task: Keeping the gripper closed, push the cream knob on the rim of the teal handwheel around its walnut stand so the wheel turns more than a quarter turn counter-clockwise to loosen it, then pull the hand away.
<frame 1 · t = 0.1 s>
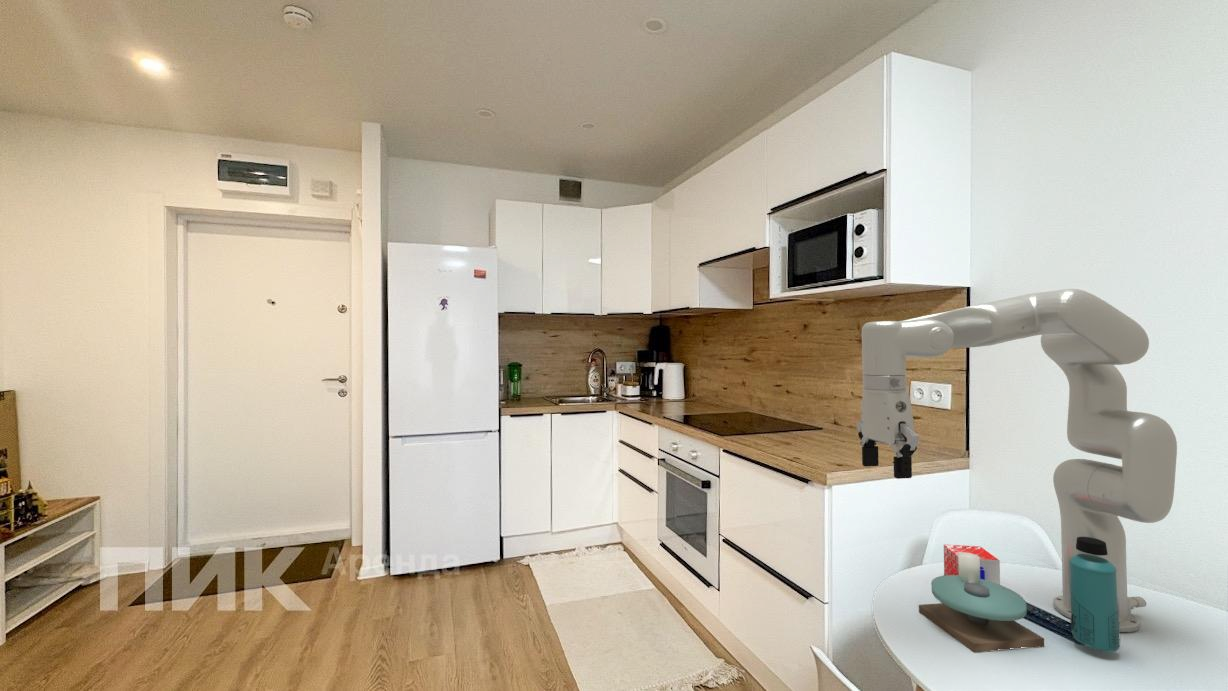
hand: (885, 471, 96), 31 cm above the table, tool pointing down, fingers open, 9 cm apart
handwheel: (976, 583, 97), point 9 cm above the table, hinge at 0.0°
stand: (977, 628, 97), on the table
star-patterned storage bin: (971, 587, 114), on the table
beverage bottle: (1094, 650, 89), on the table
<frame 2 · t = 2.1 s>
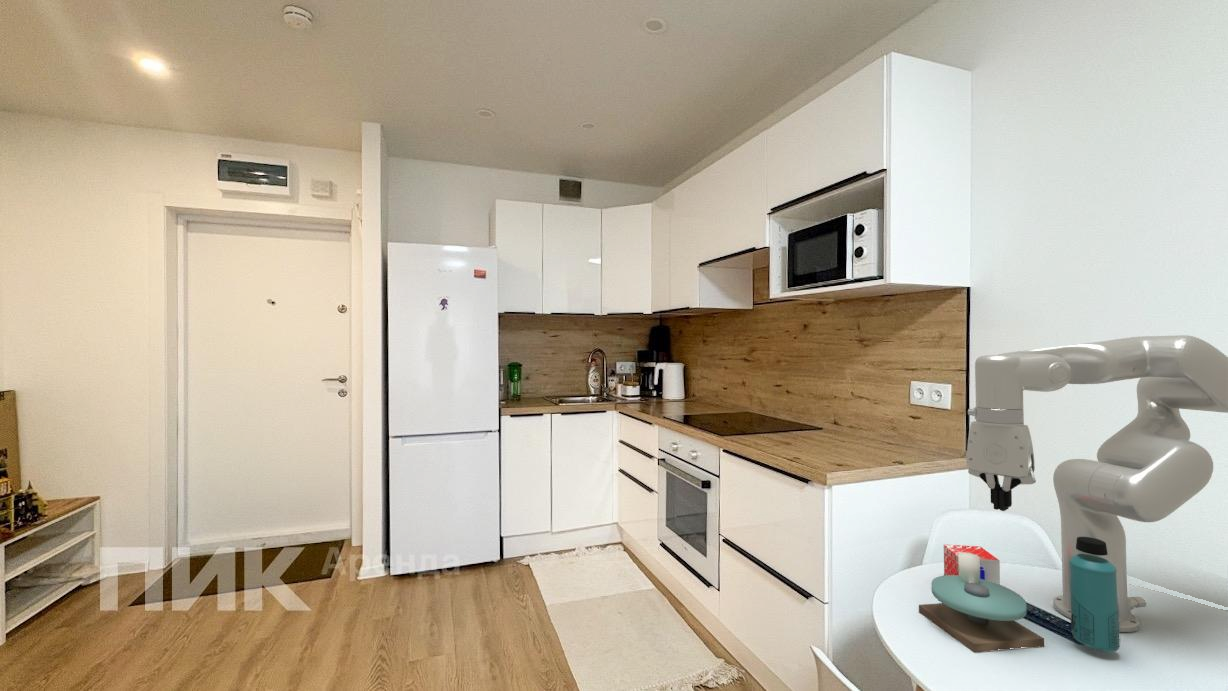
hand: (1001, 508, 98), 23 cm above the table, tool pointing down, fingers closed
nothing on the table moved.
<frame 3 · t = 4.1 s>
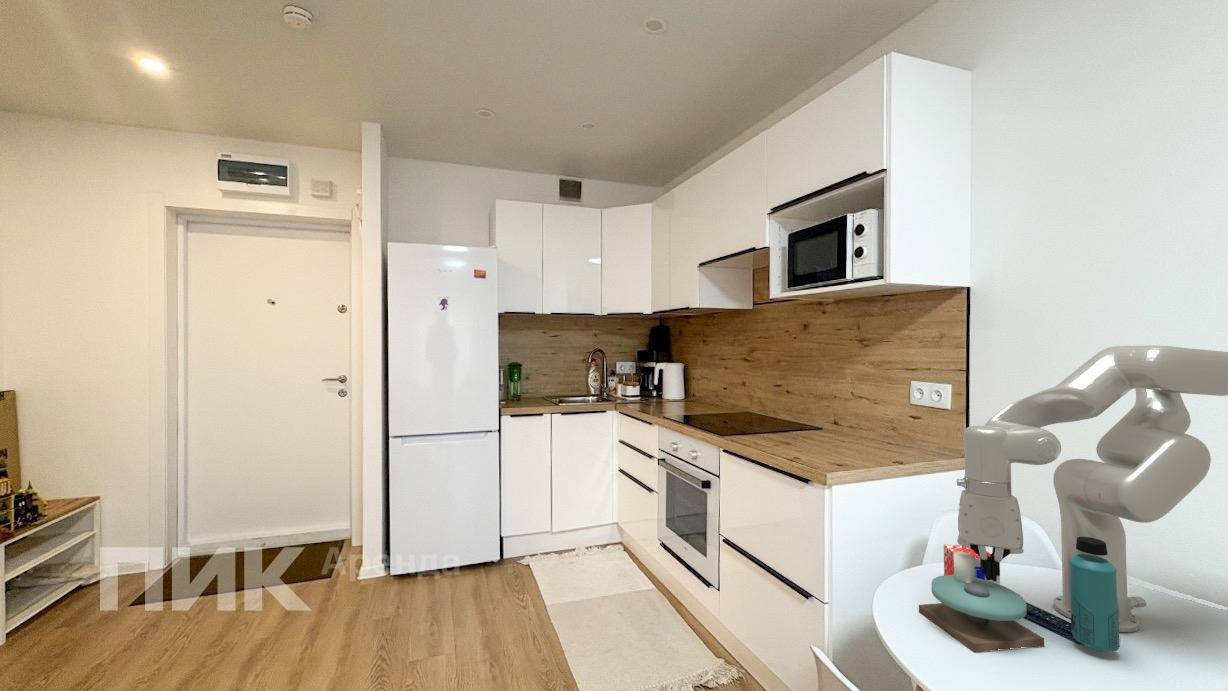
hand: (990, 577, 100), 8 cm above the table, tool pointing down, fingers closed
handwheel: (976, 583, 97), point 9 cm above the table, hinge at 8.5°, touching gripper
everything else where it was.
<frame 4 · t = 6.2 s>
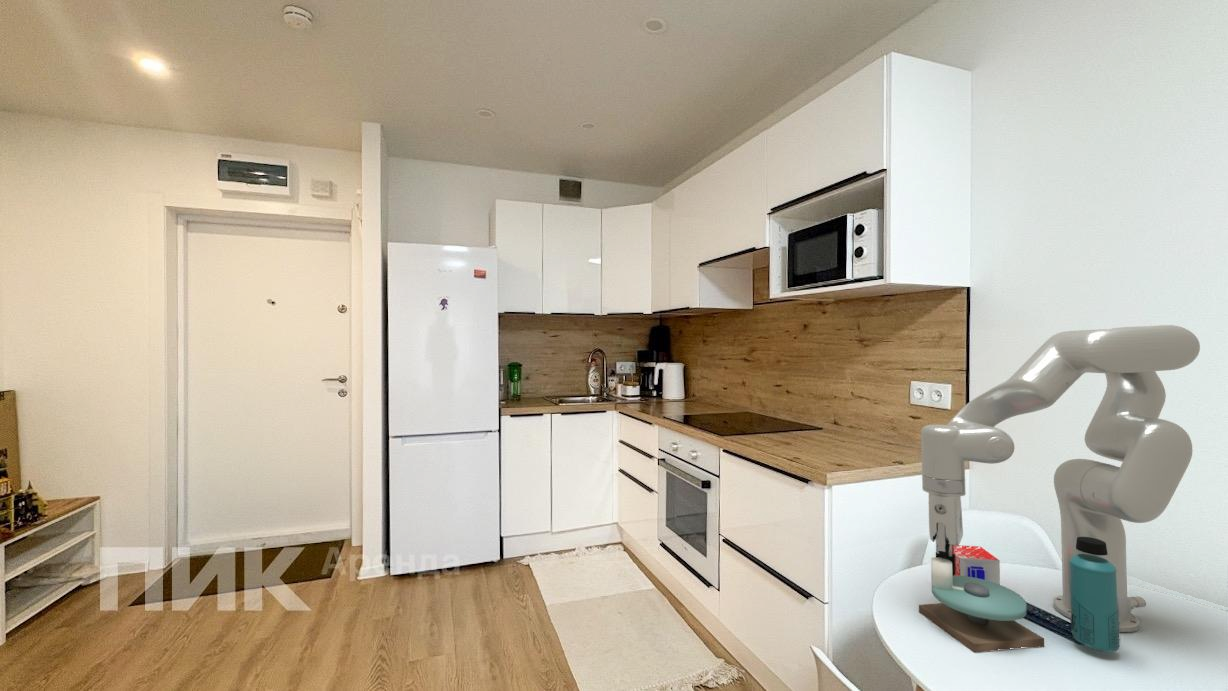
hand: (945, 572, 103), 8 cm above the table, tool pointing down, fingers closed
handwheel: (976, 583, 97), point 9 cm above the table, hinge at 84.2°, touching gripper
everything else where it was.
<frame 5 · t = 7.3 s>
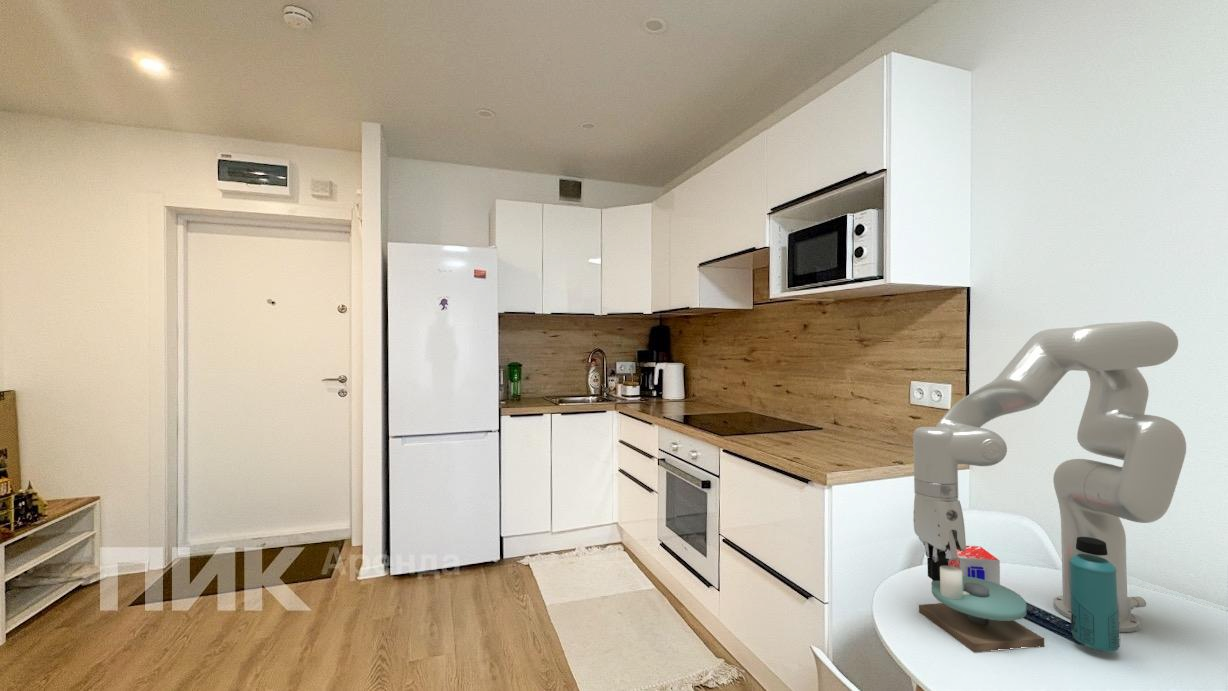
hand: (938, 578, 100), 8 cm above the table, tool pointing down, fingers closed
handwheel: (976, 583, 97), point 9 cm above the table, hinge at 123.5°, touching gripper
everything else where it was.
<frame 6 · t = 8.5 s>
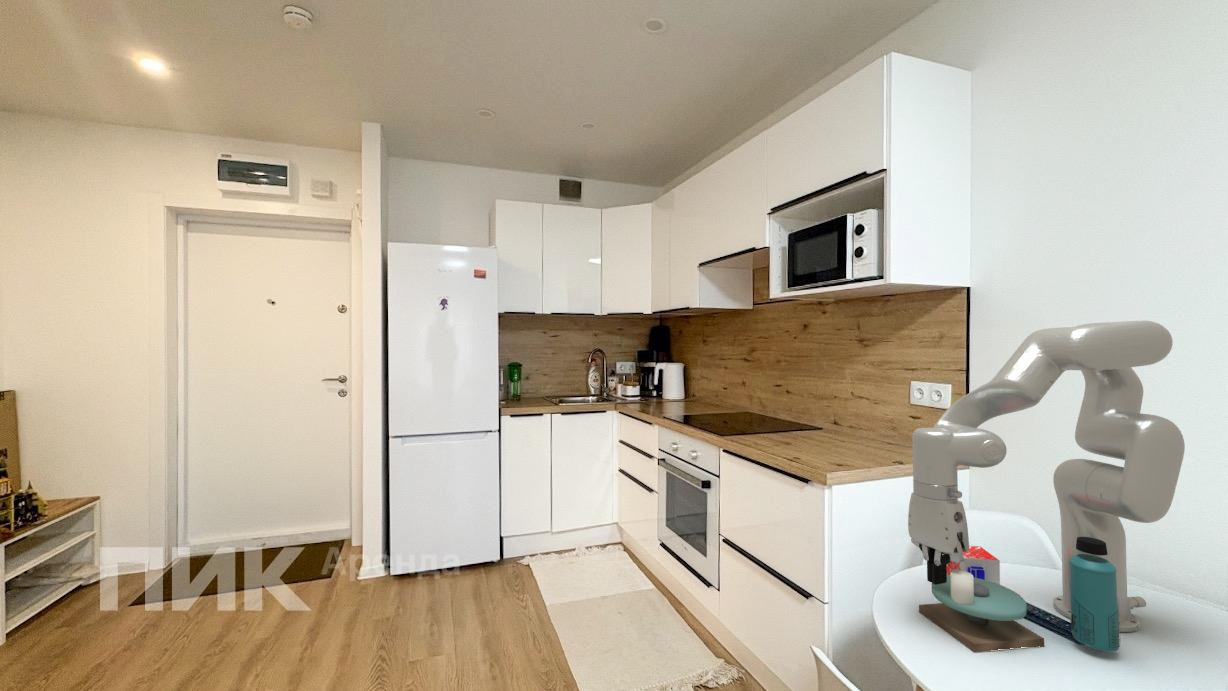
hand: (937, 581, 99), 8 cm above the table, tool pointing down, fingers closed
handwheel: (976, 583, 97), point 9 cm above the table, hinge at 144.7°
everything else where it was.
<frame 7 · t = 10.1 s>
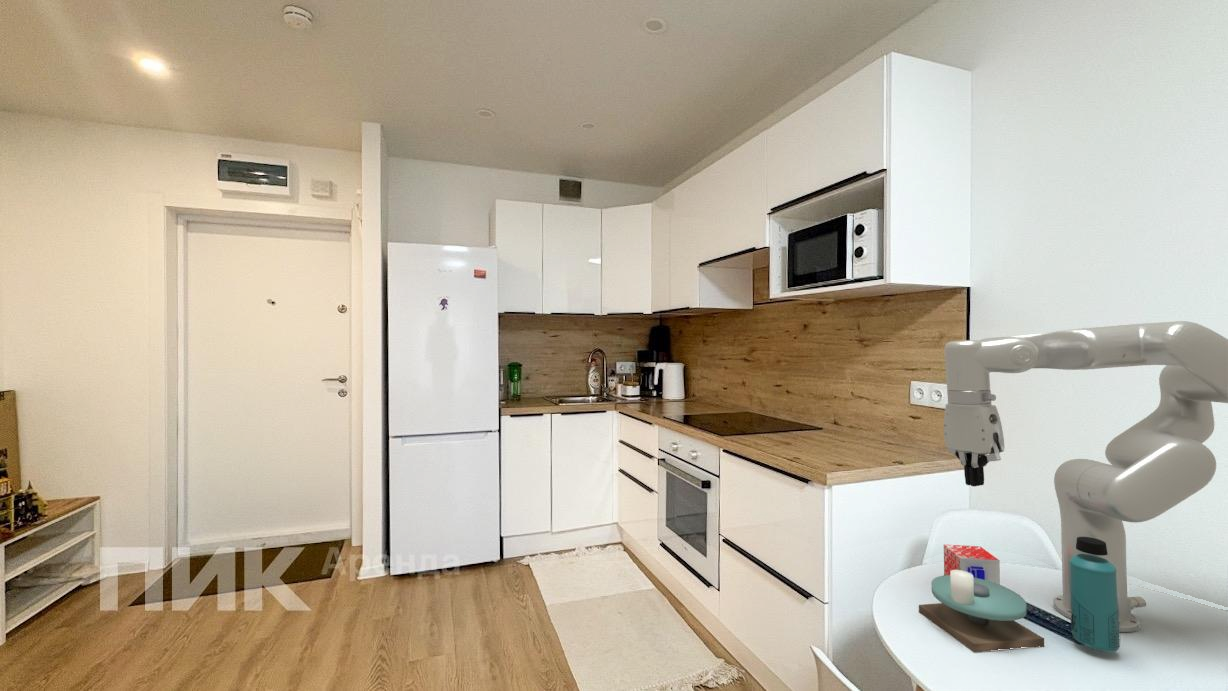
hand: (974, 484, 104), 26 cm above the table, tool pointing down, fingers closed
nothing on the table moved.
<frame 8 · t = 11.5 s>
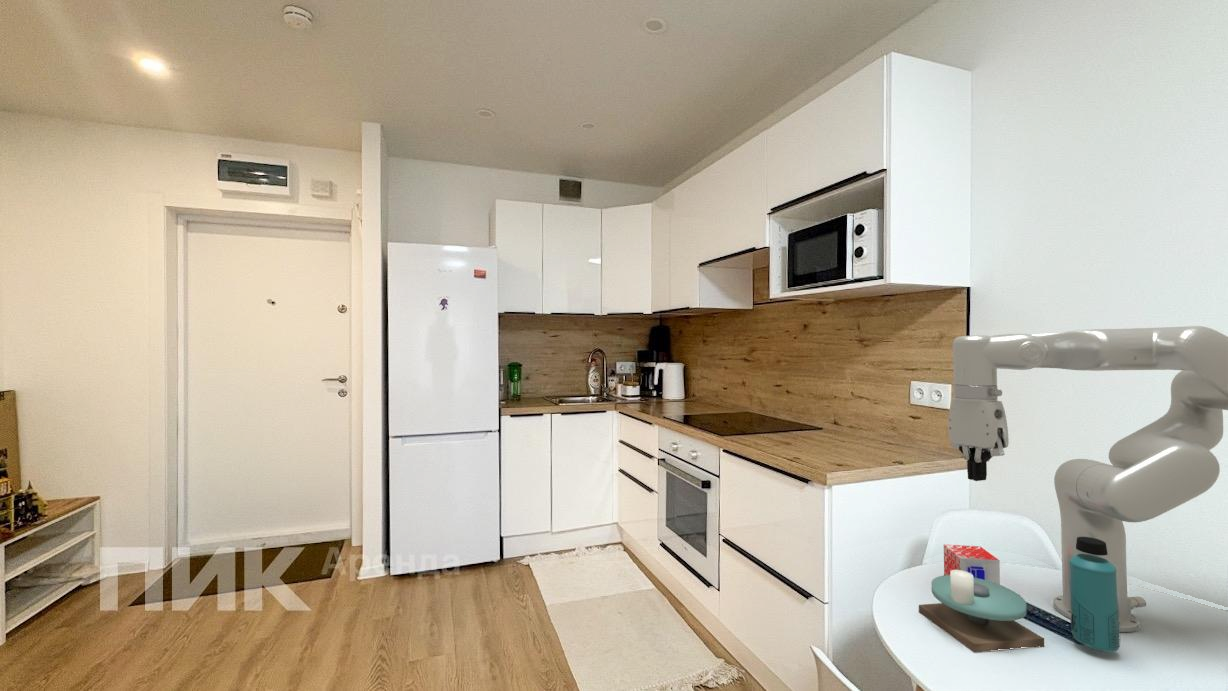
hand: (977, 479, 105), 27 cm above the table, tool pointing down, fingers closed
nothing on the table moved.
at the end: handwheel at +145° (first picture: +0°) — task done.
